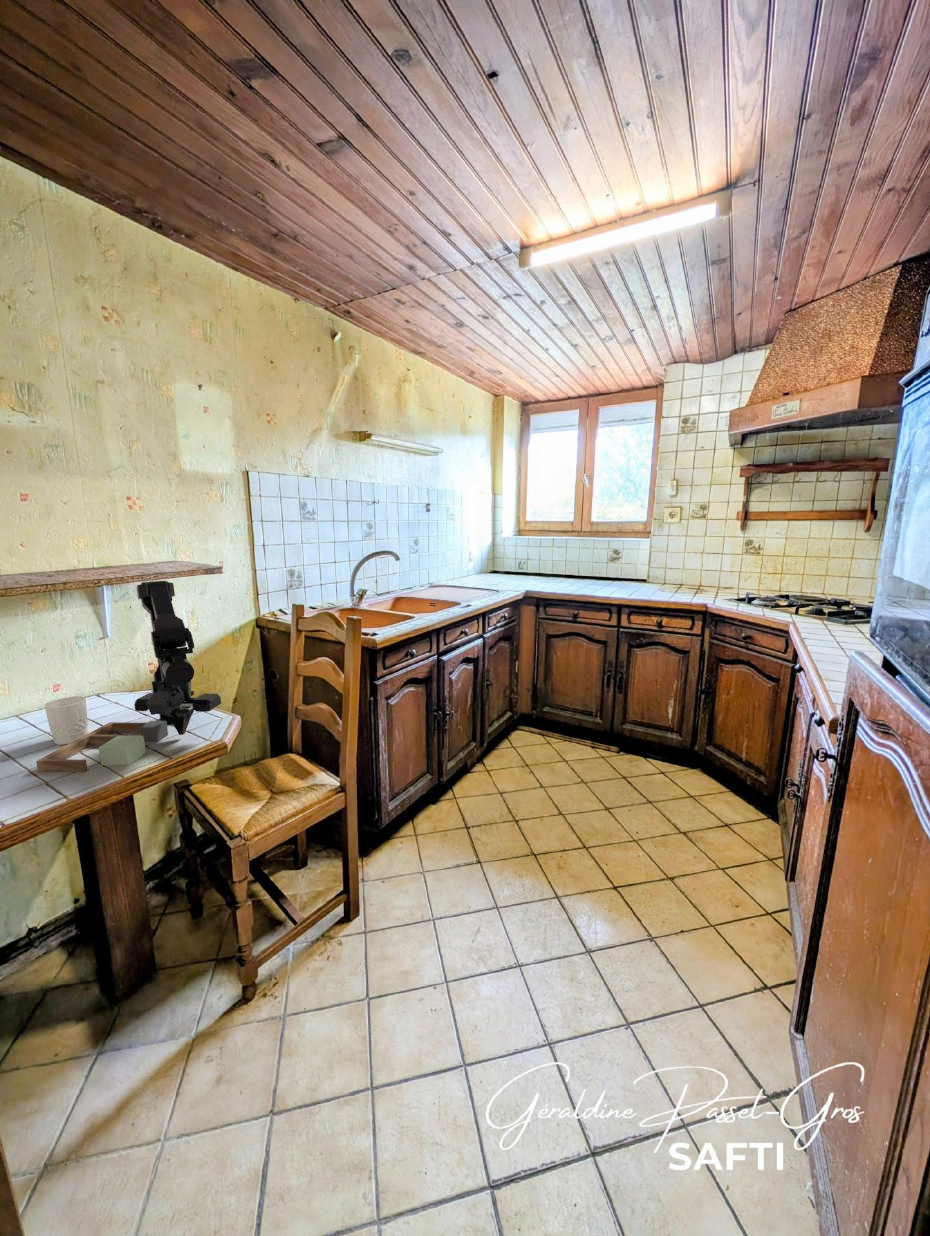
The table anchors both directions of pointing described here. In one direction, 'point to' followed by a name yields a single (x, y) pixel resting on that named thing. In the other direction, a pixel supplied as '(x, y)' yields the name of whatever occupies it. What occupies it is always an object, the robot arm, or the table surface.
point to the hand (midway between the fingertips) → (182, 734)
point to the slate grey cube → (154, 731)
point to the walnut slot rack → (97, 737)
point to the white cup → (67, 719)
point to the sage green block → (122, 750)
